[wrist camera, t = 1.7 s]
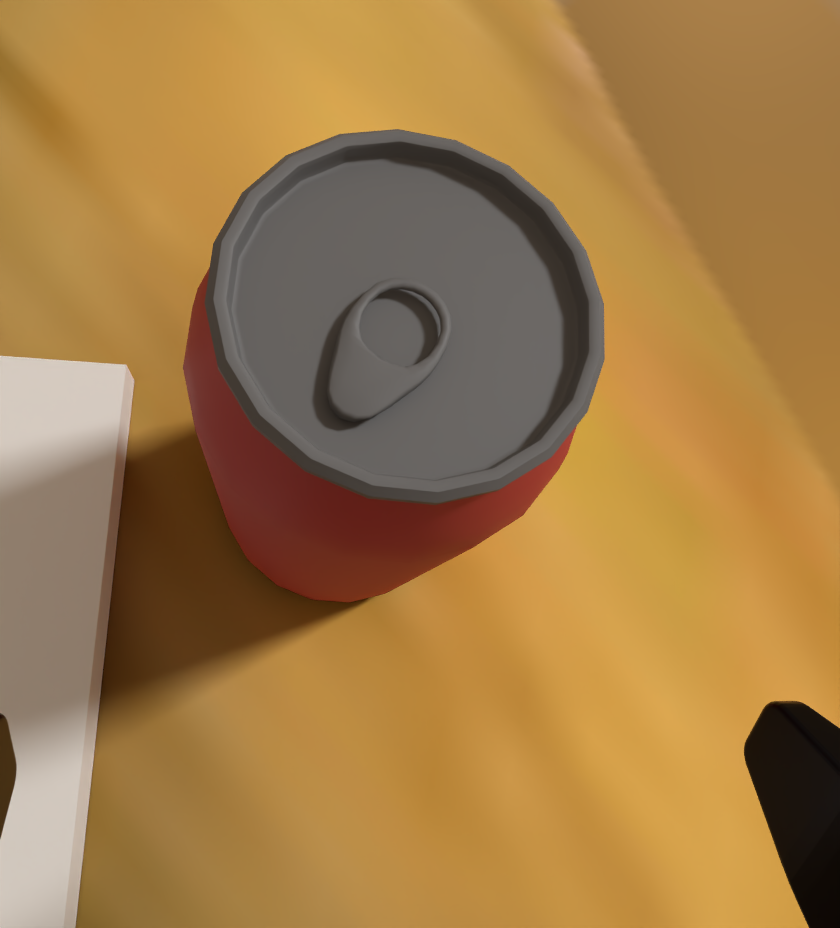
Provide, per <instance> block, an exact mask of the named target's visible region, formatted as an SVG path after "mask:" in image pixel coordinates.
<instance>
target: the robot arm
mask: <svg viewBox="0 0 840 928" xmlns="http://www.w3.org/2000/svg"><path fill="white" fill-rule="evenodd" d="M744 756H745V761H746V765H747V768H748V771H749V773H750V776H751V779H752V782H753V785H754V787H755V790H756V793H757V796H758V799H759V801H760V804H761V807H762V810H763V813H764V815H765V818H766V821H767V824H768V827H769V829H770V832H771V835H772V838H773V841H774V844H775V846H776V849H777V852H778V855H779V858H780V860H781V863H782V866H783V868H784V871H785V873H786V876H787V879H788V881H789V884H790V886H791V888H792V891H793V893H794V895H795V898H796V900H797V902H798V904H799V907H800V909H801V911H802V913H803V915H804V918H805V920H806V922H807V924H808V926H809V928H840V728H838V727H837V726H836V725H834V724H833V723H831V722H830V721H829V720H827V719H826V718H824V717H823V716H821V715H820V714H819V713H817V712H816V711H814V710H813V709H812V708H810V707H809V706H807V705H806V704H804V703H801V702H797V701H774V702H770V703H769V704H767V705H766V706H765V707H764V709H763V710H762V712H761V714H760V716H759V718H758V720H757V721H756V723H755V725H754V727H753V729H752V731H751V732H750V734H749V736H748V738H747V740H746V742H745V746H744ZM16 771H17V764H16V758H15V753H14V749H13V744H12V740H11V735H10V730H9V726H8V722H7V719H6V717H5V716H4V715H3V714H1V713H0V839H1V835H2V831H3V827H4V823H5V820H6V816H7V812H8V808H9V805H10V801H11V797H12V793H13V789H14V785H15V780H16Z"/></svg>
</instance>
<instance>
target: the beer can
mask: <svg viewBox="0 0 840 928" xmlns="http://www.w3.org/2000/svg"><path fill="white" fill-rule="evenodd" d="M603 362H604V303H603V300H602V297H601V294H600V291H599V288H598V285H597V282H596V279H595V276H594V273H593V270H592V267H591V264H590V261H589V258H588V255H587V252H586V250H585V249H584V247H583V246H582V244H581V243H580V241H579V240H578V238H577V237H576V235H575V234H574V233H573V231H572V230H571V228H570V227H569V225H568V224H567V222H566V221H565V220H564V218H563V217H562V215H561V214H560V212H559V211H558V209H557V208H556V207H555V205H554V204H553V203H552V202H551V201H550V200H549V199H548V198H546V197H545V196H544V195H543V194H542V193H540V192H539V191H538V190H537V189H536V188H535V187H533V186H532V185H531V184H530V183H529V182H527V181H526V180H525V179H524V178H523V177H522V176H520V175H519V174H518V173H517V172H516V171H514V170H513V169H512V168H511V167H510V166H508V165H506V164H504V163H502V162H500V161H498V160H496V159H494V158H492V157H490V156H487V155H485V154H483V153H481V152H479V151H477V150H475V149H473V148H471V147H469V146H467V145H464V144H462V143H460V142H458V141H456V140H451V139H446V138H441V137H436V136H430V135H425V134H420V133H415V132H410V131H404V130H399V129H395V130H383V131H371V132H359V133H348V134H339V135H336V136H334V137H331V138H329V139H326V140H324V141H321V142H319V143H316V144H314V145H311V146H309V147H306V148H304V149H301V150H299V151H296V152H294V153H291V154H289V155H286V156H285V157H284V158H282V159H281V160H280V161H279V162H278V163H277V164H275V165H274V166H273V167H272V168H271V169H270V170H268V171H267V172H266V173H265V174H264V175H262V176H261V177H260V178H259V179H258V180H257V181H255V182H254V183H253V184H252V185H251V186H250V187H248V188H247V189H246V190H245V191H244V192H242V194H241V196H240V197H239V199H238V201H237V203H236V205H235V206H234V208H233V210H232V212H231V213H230V215H229V217H228V219H227V220H226V222H225V224H224V226H223V228H222V229H221V231H220V233H219V235H218V236H217V238H216V240H215V242H214V243H213V250H212V257H211V263H210V268H209V270H208V271H207V273H206V275H205V277H204V278H203V280H202V282H201V284H200V286H199V287H198V289H197V293H196V297H195V300H194V304H193V308H192V314H191V320H190V327H189V333H188V339H187V346H186V352H185V359H184V365H183V370H184V375H185V380H186V385H187V390H188V395H189V400H190V405H191V410H192V415H193V420H194V425H195V430H196V433H197V436H198V439H199V442H200V445H201V447H202V450H203V453H204V456H205V459H206V462H207V465H208V468H209V471H210V474H211V476H212V479H213V482H214V485H215V488H216V491H217V494H218V497H219V500H220V503H221V506H222V508H223V511H224V514H225V517H226V520H227V523H228V526H229V529H230V530H231V532H232V534H233V535H234V537H235V539H236V540H237V542H238V544H239V546H240V547H241V549H242V551H243V552H244V554H245V556H246V557H247V559H248V561H249V562H251V563H252V564H253V565H254V566H255V567H256V568H258V569H259V570H260V571H261V572H262V573H263V574H265V575H266V576H267V577H268V578H269V579H270V580H271V581H273V582H274V583H275V584H276V585H278V586H280V587H282V588H285V589H287V590H290V591H292V592H295V593H297V594H299V595H302V596H304V597H307V598H309V599H312V600H323V601H337V602H353V601H357V600H361V599H365V598H369V597H373V596H377V595H381V594H385V593H387V592H389V591H391V590H393V589H395V588H397V587H399V586H401V585H402V584H404V583H406V582H408V581H410V580H412V579H414V578H416V577H418V576H420V575H421V574H423V573H425V572H427V571H429V570H431V569H433V568H435V567H437V566H439V565H441V564H442V563H444V562H446V561H448V560H450V559H452V558H454V557H456V556H458V555H460V554H462V553H463V552H465V551H467V550H469V549H471V548H473V547H474V546H476V545H477V544H479V543H481V542H482V541H484V540H485V539H487V538H488V537H490V536H492V535H493V534H495V533H496V532H498V531H499V530H501V529H502V528H504V527H506V526H507V525H509V524H510V523H512V522H513V521H515V520H516V519H518V518H520V517H521V516H523V515H524V513H525V512H526V511H527V509H528V508H529V507H530V506H531V504H532V503H533V502H534V500H535V499H536V498H537V497H538V495H539V494H540V493H541V491H542V490H543V489H544V488H545V486H546V485H547V484H548V482H549V481H550V480H551V479H552V477H553V476H554V475H555V473H556V472H557V471H558V469H559V468H560V466H561V464H562V462H563V461H564V459H565V457H566V455H567V453H568V450H569V447H570V444H571V441H572V438H573V435H574V432H575V429H576V426H577V424H578V423H579V422H580V421H581V419H582V418H583V417H584V415H585V414H586V413H587V411H588V408H589V405H590V402H591V399H592V396H593V393H594V390H595V387H596V384H597V381H598V378H599V375H600V371H601V368H602V365H603Z"/></svg>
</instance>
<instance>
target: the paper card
mask: <svg viewBox="0 0 840 928" xmlns="http://www.w3.org/2000/svg"><path fill="white" fill-rule="evenodd" d="M133 388H134V379H133V377H132V375H131V373H130V371H129V369H128V367H127V365H121V364H107V363H93V362H79V361H65V360H51V359H36V358H22V357H8V356H0V713H1V714H3V715H4V716H5V717H6V719H7V722H8V726H9V730H10V735H11V740H12V744H13V749H14V753H15V758H16V764H17V771H16V780H15V785H14V789H13V793H12V797H11V801H10V805H9V808H8V812H7V816H6V820H5V823H4V827H3V831H2V835H1V839H0V928H75V926H76V916H77V907H78V898H79V888H80V879H81V870H82V861H83V851H84V842H85V833H86V824H87V814H88V805H89V796H90V786H91V777H92V768H93V759H94V749H95V740H96V731H97V722H98V712H99V703H100V694H101V685H102V675H103V666H104V657H105V647H106V638H107V629H108V620H109V610H110V601H111V592H112V583H113V573H114V564H115V555H116V545H117V536H118V527H119V518H120V508H121V499H122V490H123V481H124V471H125V462H126V453H127V443H128V434H129V425H130V416H131V406H132V397H133Z"/></svg>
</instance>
